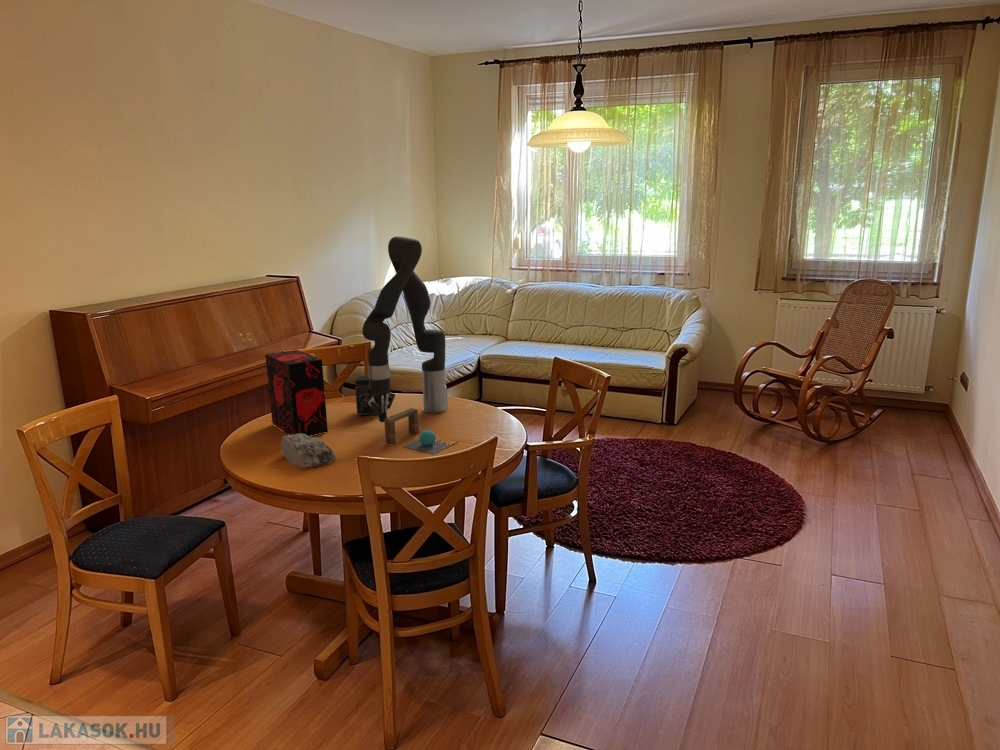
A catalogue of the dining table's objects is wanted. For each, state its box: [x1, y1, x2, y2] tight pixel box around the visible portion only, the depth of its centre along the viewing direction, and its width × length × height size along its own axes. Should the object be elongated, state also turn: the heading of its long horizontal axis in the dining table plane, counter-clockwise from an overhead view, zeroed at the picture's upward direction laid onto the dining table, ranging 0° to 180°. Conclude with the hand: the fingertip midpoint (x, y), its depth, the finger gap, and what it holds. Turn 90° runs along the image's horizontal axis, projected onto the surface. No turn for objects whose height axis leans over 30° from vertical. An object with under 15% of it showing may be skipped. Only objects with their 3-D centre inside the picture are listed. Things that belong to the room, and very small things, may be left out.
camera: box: [354, 374, 378, 416], centre depth 281 cm, size 10×11×15 cm
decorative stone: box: [280, 433, 337, 469], centre depth 231 cm, size 20×14×10 cm
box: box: [264, 349, 329, 437], centre depth 261 cm, size 23×12×28 cm, turn 38°
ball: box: [418, 429, 437, 446], centre depth 242 cm, size 6×6×6 cm
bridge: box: [383, 407, 420, 446], centre depth 250 cm, size 3×15×9 cm, turn 147°
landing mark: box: [402, 438, 451, 455], centre depth 244 cm, size 14×14×1 cm
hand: (382, 421), depth 255 cm, fingers closed
